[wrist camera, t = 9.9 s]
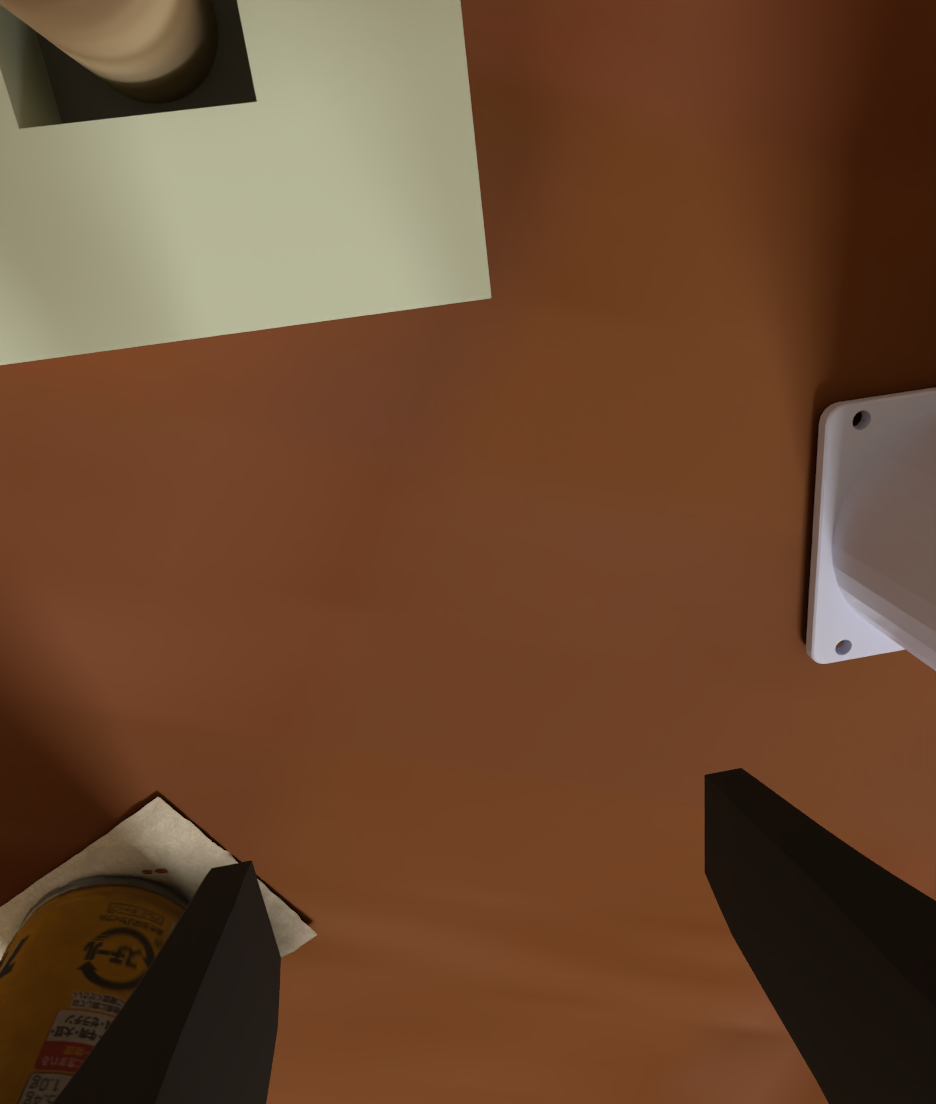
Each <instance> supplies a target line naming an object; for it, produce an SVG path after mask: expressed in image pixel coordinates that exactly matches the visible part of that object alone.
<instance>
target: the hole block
mask: <svg viewBox="0 0 936 1104" xmlns="http://www.w3.org/2000/svg"><path fill="white" fill-rule="evenodd" d="M212 3H213V7H214V10H215V14H216V19H217V27H218V44H217V50H216V56H215V59H214V62H213V65H212V67H211V69H210V71H209V73H208V75H207V76H206V78H205V80H204V81H203V82H202V83H201V84H200V85H199V87H198V88H197V89H195V90H194V91H193V92H192V93H190V94H189V95H187V96H185V97H184V98H181V99H179V100H176V101H173V102H168V103H158V104H156V103H146V102H141V101H137V100H135V99H132V98H129V97H127V96H125V95H123V94H121V93H119V92H118V91H116V90H115V89H113V88H112V87H110V86H109V85H108V84H106V83H105V82H104V81H102V80H101V79H99V78H98V77H97V76H95V75H94V74H93V73H91V72H90V71H89V70H87V69H86V68H85V67H83V66H82V65H81V64H79V63H78V62H77V61H75V60H74V59H73V58H71V57H70V56H69V55H67V54H66V53H65V52H63V51H62V50H61V49H59V48H58V47H57V46H55V45H54V44H53V43H51V42H50V41H49V40H47V39H46V38H44V37H43V36H42V35H40V34H39V33H38V32H36V31H35V30H34V29H32V28H31V27H30V26H28V25H27V24H26V23H24V22H23V21H22V20H20V19H19V18H18V17H16V16H15V15H14V14H12V13H11V12H10V11H8V10H7V9H6V8H4V7H3V6H2V5H0V365H5V364H13V363H20V362H27V361H35V360H42V359H49V358H56V357H64V356H71V355H78V354H86V353H93V352H100V351H108V350H115V349H122V348H130V347H137V346H144V345H152V344H159V343H166V342H174V341H181V340H188V339H195V338H203V337H210V336H217V335H225V334H232V333H239V332H247V331H254V330H261V329H269V328H276V327H283V326H291V325H298V324H305V323H313V322H320V321H327V320H334V319H342V318H349V317H356V316H364V315H371V314H378V313H386V312H393V311H400V310H408V309H415V308H422V307H430V306H437V305H444V304H452V303H459V302H466V301H473V300H481V299H488V298H491V290H490V280H489V271H488V261H487V251H486V242H485V232H484V223H483V213H482V203H481V194H480V184H479V175H478V165H477V155H476V146H475V136H474V127H473V117H472V107H471V98H470V88H469V79H468V69H467V60H466V50H465V40H464V31H463V21H462V12H461V2H460V0H212Z"/></svg>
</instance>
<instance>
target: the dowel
mask: <svg viewBox="0 0 936 1104" xmlns="http://www.w3.org/2000/svg"><path fill="white" fill-rule="evenodd" d="M0 5H2V6H3V7H4V8H6V9H7V10H8V11H10V12H11V13H12V14H14V15H15V16H16V17H18V18H19V19H20V20H22V21H23V22H24V23H26V24H27V25H28V26H30V27H31V28H32V29H34V30H35V31H36V32H38V33H39V34H40V35H42V36H43V37H44V38H46V39H47V40H49V41H50V42H51V43H53V44H54V45H55V46H57V47H58V48H59V49H61V50H62V51H63V52H65V53H66V54H67V55H69V56H70V57H71V58H73V59H74V60H75V61H77V62H78V63H79V64H81V65H82V66H83V67H85V68H86V69H87V70H89V71H90V72H91V73H93V74H94V75H95V76H97V77H98V78H99V79H101V80H102V81H104V82H105V83H106V84H108V85H109V86H110V87H112V88H113V89H115V90H116V91H118V92H119V93H121V94H123V95H125V96H127V97H129V98H132V99H135V100H137V101H141V102H146V103H156V104H158V103H168V102H173V101H176V100H179V99H181V98H184V97H185V96H187V95H189V94H190V93H192V92H193V91H194V90H195V89H197V88H198V87H199V85H200V84H201V83H202V82H203V81H204V80H205V78H206V76H207V75H208V73H209V71H210V69H211V67H212V65H213V62H214V59H215V56H216V50H217V44H218V27H217V19H216V14H215V10H214V7H213V3H212V0H0Z"/></svg>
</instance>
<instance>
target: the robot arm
mask: <svg viewBox="0 0 936 1104" xmlns="http://www.w3.org/2000/svg"><path fill="white" fill-rule="evenodd" d="M860 411H861V413H862V418H861V421H860V422H859V423H858V424H857V425H856V426H853V423H852V421H853V418H854V416H855V415H856V414H857V413H858V412H860ZM842 640H844V641H843V644H842V645H841V646H840V647H838V648H836V645H837V644H838V643H839V642H840V641H842ZM835 648H836V649H835ZM904 649H906V650H907V651H909V652H910V653H911V654H913V655H914V656H916V657H917V658H918V659H920V660H921V661H923V662H924V663H925V664H927V665H928V666H930V667H931V668H932V669H934V670H935V671H936V387H934V388H927V389H921V390H914V391H908V392H901V393H895V394H888V395H881V396H875V397H868V398H862V399H855V400H849V401H842V402H837V403H834V404H831V405H830V406H829V407H827V408H826V409H825V410H824V412H823V413H822V415H821V417H820V421H819V432H818V449H817V466H816V483H815V500H814V517H813V534H812V552H811V569H810V586H809V603H808V620H807V637H806V651H807V654H808V655H809V656H810V657H811V658H812V659H813V660H814V661H815V662H818V663H820V664H826V663H832V662H838V661H843V660H849V659H854V658H860V657H865V656H871V655H877V654H882V653H888V652H893V651H899V650H904ZM705 874H706V876H707V879H708V881H709V883H710V886H711V888H712V890H713V893H714V895H715V897H716V900H717V902H718V904H719V907H720V909H721V911H722V913H723V916H724V918H725V920H726V922H727V924H728V927H729V929H730V931H731V933H732V935H733V937H734V939H735V941H736V943H737V944H738V946H739V948H740V950H741V951H742V953H743V955H744V957H745V958H746V960H747V962H748V964H749V965H750V967H751V969H752V971H753V972H754V974H755V976H756V977H757V979H758V981H759V983H760V984H761V986H762V988H763V990H764V991H765V993H766V995H767V996H768V998H769V1000H770V1002H771V1003H772V1005H773V1007H774V1008H775V1010H776V1012H777V1014H778V1015H779V1017H780V1019H781V1020H782V1022H783V1024H784V1026H785V1027H786V1029H787V1031H788V1032H789V1034H790V1036H791V1037H792V1039H793V1041H794V1043H795V1044H796V1046H797V1048H798V1049H799V1051H800V1053H801V1055H802V1056H803V1058H804V1060H805V1061H806V1063H807V1065H808V1067H809V1068H810V1070H811V1072H812V1073H813V1075H814V1077H815V1079H816V1080H817V1082H818V1084H819V1086H820V1088H821V1090H822V1091H823V1093H824V1095H825V1097H826V1099H827V1101H828V1103H829V1104H936V901H935V900H933V899H932V898H930V897H928V896H927V895H925V894H924V893H922V892H920V891H919V890H917V889H915V888H914V887H912V886H911V885H909V884H907V883H906V882H904V881H903V880H901V879H899V878H898V877H896V876H894V875H893V874H891V873H890V872H888V871H887V870H885V869H884V868H882V867H881V866H879V865H877V864H876V863H874V862H873V861H871V860H870V859H868V858H867V857H865V856H864V855H862V854H861V853H859V852H858V851H856V850H855V849H854V848H852V847H851V846H849V845H848V844H846V843H845V842H843V841H842V840H840V839H839V838H837V837H836V836H835V835H833V834H832V833H830V832H829V831H827V830H826V829H825V828H823V827H822V826H820V825H819V824H818V823H816V822H815V821H813V820H812V819H811V818H809V817H808V816H806V815H805V814H804V813H802V812H801V811H800V810H798V809H797V808H795V807H794V806H793V805H791V804H790V803H789V802H787V801H786V800H784V799H783V798H782V797H780V796H779V795H778V794H776V793H775V792H774V791H772V790H771V789H769V788H768V787H767V786H765V785H764V784H763V783H761V782H760V781H759V780H757V779H756V778H754V777H753V776H752V775H750V774H749V773H747V772H746V771H745V770H743V769H742V768H739V769H734V770H729V771H723V772H718V773H713V774H707V775H705ZM280 964H281V956H280V952H279V949H278V946H277V942H276V939H275V936H274V933H273V929H272V926H271V923H270V919H269V916H268V913H267V910H266V906H265V903H264V900H263V896H262V893H261V890H260V886H259V883H258V880H257V877H256V873H255V870H254V867H253V863H252V861H247V862H241V863H236V864H231V865H225V866H220V867H215V868H211V870H210V871H209V872H208V873H207V875H206V876H205V878H204V879H203V881H202V883H201V884H200V886H199V887H198V889H197V891H196V892H195V894H194V896H193V897H192V899H191V901H190V902H189V904H188V905H187V907H186V909H185V910H184V912H183V914H182V915H181V917H180V919H179V920H178V922H177V923H176V925H175V927H174V928H173V930H172V931H171V933H170V935H169V936H168V938H167V939H166V941H165V943H164V944H163V946H162V947H161V949H160V951H159V952H158V954H157V955H156V957H155V958H154V960H153V961H152V963H151V964H150V966H149V967H148V969H147V970H146V972H145V974H144V975H143V977H142V978H141V980H140V981H139V983H138V984H137V986H136V987H135V989H134V990H133V992H132V993H131V995H130V996H129V998H128V999H127V1001H126V1002H125V1004H124V1005H123V1007H122V1008H121V1010H120V1011H119V1013H118V1014H117V1015H116V1017H115V1018H114V1020H113V1021H112V1022H111V1024H110V1025H109V1027H108V1028H107V1029H106V1031H105V1032H104V1034H103V1035H102V1036H101V1038H100V1039H99V1041H98V1042H97V1043H96V1045H95V1046H94V1048H93V1049H92V1050H91V1052H90V1053H89V1055H88V1056H87V1057H86V1059H85V1060H84V1062H83V1063H82V1064H81V1066H80V1067H79V1068H78V1070H77V1071H76V1072H75V1074H74V1075H73V1076H72V1078H71V1079H70V1080H69V1082H68V1083H67V1084H66V1086H65V1087H64V1088H63V1090H62V1091H61V1092H60V1094H59V1095H58V1096H57V1097H56V1099H55V1100H54V1101H53V1103H52V1104H266V1100H267V1094H268V1088H269V1081H270V1075H271V1068H272V1062H273V1055H274V1049H275V1042H276V1035H277V1027H278V1009H279V990H280Z"/></svg>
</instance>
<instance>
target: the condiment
mask: <svg viewBox="0 0 936 1104" xmlns="http://www.w3.org/2000/svg"><path fill="white" fill-rule="evenodd" d="M236 863H238V862H237V861H236V860H235V859H234V858H233V857H232V855H231V854H230V853H229V852H228V851H225V850H223V849H222V848H220V847H219V846H217V845H216V844H215V843H213V842H212V841H211V840H210V839H209V838H207V837H206V836H205V835H204V834H203V833H202V832H201V831H200V830H199V829H198V828H197V827H196V826H195V825H193V824H192V823H191V822H190V821H189V820H187V819H185V818H183V817H182V816H181V815H180V814H178V813H177V812H176V811H175V810H174V809H172V808H171V807H170V806H169V805H168V804H166V803H165V802H164V801H163V800H162V799H161V798H160V797H157V798H155V799H154V800H153V801H151V802H150V803H148V804H147V805H145V806H144V807H143V808H142V809H141V810H139V811H138V812H136V813H135V814H134V815H132V816H131V817H129V818H127V819H126V820H124V821H123V822H121V823H120V824H119V825H117V826H116V827H115V828H114V829H113V830H111V831H110V832H109V833H107V834H106V835H104V836H103V837H101V838H100V839H98V840H97V841H95V842H94V843H92V844H91V845H89V846H88V847H87V848H85V849H84V850H83V851H82V852H80V853H79V854H77V855H75V856H73V857H72V858H71V859H69V860H68V861H67V862H65V863H64V864H62V865H60V866H59V867H58V868H56V869H54V870H53V871H51V872H50V873H48V874H47V875H45V876H44V877H42V878H41V879H39V880H38V881H36V882H35V883H34V884H33V885H31V886H30V887H28V888H27V889H26V890H24V891H23V892H22V893H20V894H19V895H17V896H16V897H14V898H13V899H11V900H10V901H9V902H7V903H6V904H4V905H3V906H1V907H0V1104H52V1103H53V1101H54V1100H55V1099H56V1097H57V1096H58V1095H59V1094H60V1092H61V1091H62V1090H63V1088H64V1087H65V1086H66V1084H67V1083H68V1082H69V1080H70V1079H71V1078H72V1076H73V1075H74V1074H75V1072H76V1071H77V1070H78V1068H79V1067H80V1066H81V1064H82V1063H83V1062H84V1060H85V1059H86V1057H87V1056H88V1055H89V1053H90V1052H91V1050H92V1049H93V1048H94V1046H95V1045H96V1043H97V1042H98V1041H99V1039H100V1038H101V1036H102V1035H103V1034H104V1032H105V1031H106V1029H107V1028H108V1027H109V1025H110V1024H111V1022H112V1021H113V1020H114V1018H115V1017H116V1015H117V1014H118V1013H119V1011H120V1010H121V1008H122V1007H123V1005H124V1004H125V1002H126V1001H127V999H128V998H129V996H130V995H131V993H132V992H133V990H134V989H135V987H136V986H137V984H138V983H139V981H140V980H141V978H142V977H143V975H144V974H145V972H146V970H147V969H148V967H149V966H150V964H151V963H152V961H153V960H154V958H155V957H156V955H157V954H158V952H159V951H160V949H161V947H162V946H163V944H164V943H165V941H166V939H167V938H168V936H169V935H170V933H171V931H172V930H173V928H174V927H175V925H176V923H177V922H178V920H179V919H180V917H181V915H182V914H183V912H184V910H185V909H186V907H187V905H188V904H189V902H190V901H191V899H192V897H193V896H194V894H195V892H196V891H197V889H198V887H199V886H200V884H201V883H202V881H203V879H204V878H205V876H206V875H207V873H208V872H209V871H210V870H211V868H215V867H220V866H225V865H231V864H236ZM164 868H165V869H166V870H168V873H156V872H155V871H156V869H164ZM143 870H151V871H152V872H153V873H151V874H150V875H147V874H143V872H141V871H143ZM257 880H258V879H257ZM258 883H259V886H260V890H261V893H262V896H263V900H264V903H265V906H266V910H267V913H268V916H269V919H270V923H271V926H272V929H273V933H274V936H275V939H276V942H277V946H278V949H279V952H280V956H281V957H283V956H285V955H287V954H289V953H291V952H293V951H295V950H296V949H298V948H299V947H300V946H301V945H303V944H304V943H306V942H307V941H309V940H310V939H312V938H313V937H315V936H316V935H317V934H316V933H315V932H314V931H313V930H312V929H311V928H310V927H309V926H308V925H307V924H305V923H304V922H303V921H301V919H300V917H299V916H298V915H297V913H295V912H294V911H293V910H291V909H290V908H289V907H288V906H287V905H286V904H285V903H284V902H283V901H282V900H281V899H280V898H278V897H277V896H276V895H274V894H273V893H272V892H271V891H270V890H269V889H268V888H267V887H266V886H265V885H264V884H263V883H262V882H261V881H260V880H258Z"/></svg>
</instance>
